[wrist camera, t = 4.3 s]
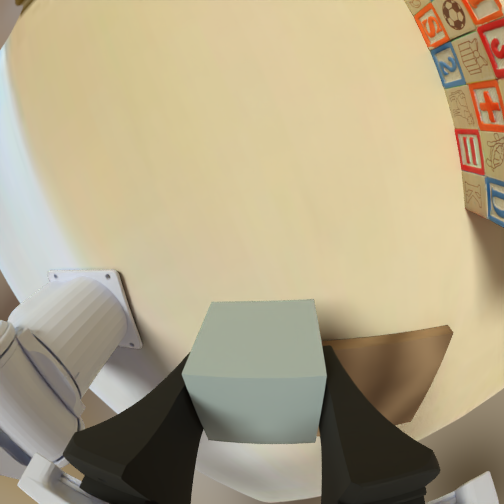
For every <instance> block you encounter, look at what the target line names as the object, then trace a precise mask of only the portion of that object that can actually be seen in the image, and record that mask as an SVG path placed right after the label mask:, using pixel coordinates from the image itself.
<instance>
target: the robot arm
mask: <svg viewBox="0 0 504 504" xmlns="http://www.w3.org/2000/svg"><path fill="white" fill-rule="evenodd" d="M108 275H110V277H109V276H108ZM47 276H48V279H49V282H48V283H47V284H46V285H44V286H43V287H42V288H40V289H39V290H38V291H36V292H35V293H34V294H33V295H31V296H30V297H29V298H27V299H26V300H25V301H24V302H22V303H21V304H20V305H19V306H18V307H16V308H15V310H13V312H12V313H11V315H10V317H9V319H8V322H5V321H2V320H0V475H3V476H7V477H11V478H15V479H19V480H20V481H19V482H18V484H17V485H18V487H19V488H21V489H22V490H23V491H24V492H25V493H27V494H28V495H29V496H30V497H32V498H33V499H34V500H35V501H36V502H38V503H39V504H190V503H191V492H192V484H193V476H194V470H195V463H196V458H197V452H198V447H199V442H200V438H201V435H202V432H203V429H204V428H203V426H202V424H201V422H200V419H199V417H198V415H197V412H196V410H195V407H194V405H193V402H192V400H191V397H190V395H189V392H188V390H187V387H186V385H185V382H184V379H183V377H182V372H183V369H184V367H185V364H186V362H187V359H188V357H189V355H190V353H189V354H188V355H187V356H186V357H185V358H184V359H183V361H182V362H181V363H180V364H179V365H178V366H177V367H176V368H175V369H174V370H173V371H172V372H171V373H170V374H169V375H168V376H167V377H166V378H165V379H164V380H163V381H162V382H161V383H160V384H159V385H158V386H157V387H156V388H154V389H153V390H152V391H151V392H150V393H149V394H147V395H146V396H145V397H144V398H142V399H141V400H140V401H138V402H137V403H136V404H134V405H133V406H131V407H129V408H128V409H126V410H125V411H123V412H121V413H120V414H118V415H116V416H114V417H112V418H110V419H108V420H107V421H104V422H102V423H100V424H97V425H95V426H92V427H90V428H87V429H85V426H84V423H83V420H82V419H81V417H80V416H81V414H82V413H83V411H84V409H85V406H84V405H83V403H82V402H81V398H82V396H83V395H84V393H85V392H86V391H87V389H88V388H89V386H90V385H91V383H92V382H93V380H94V379H95V377H96V376H97V374H98V373H99V372H100V370H101V369H102V367H103V366H104V364H105V363H106V362H107V360H108V359H109V357H110V356H111V355H112V353H113V352H114V350H115V349H116V348H117V346H121V347H127V348H135V349H140V348H141V347H142V345H143V344H142V341H141V339H140V336H139V333H138V331H137V328H136V325H135V322H134V319H133V317H132V314H131V311H130V308H129V305H128V302H127V299H126V295H125V292H124V289H123V286H122V282H121V279H120V275H119V273H118V272H117V271H116V270H50V271H48V272H47ZM322 348H323V354H324V361H325V367H326V374H327V378H326V385H325V391H324V398H323V404H322V409H321V415H320V421H319V432H320V438H321V450H322V496H321V504H499V502H498V498H497V494H496V490H495V487H494V484H493V480H492V477H491V474H490V472H489V471H487V472H485V473H483V474H481V475H480V476H478V477H476V478H474V479H472V480H470V481H468V482H467V483H465V484H463V485H462V486H460V487H459V488H458V489H456V491H454V492H452V493H449V494H447V495H445V496H442V497H440V498H437V499H435V500H432V501H430V502H427V503H425V501H424V495H426V488H425V486H426V485H427V484H428V483H430V482H431V481H432V480H433V479H435V478H436V476H437V475H438V474H439V473H440V467H439V464H438V461H437V459H436V456H435V454H434V452H433V450H431V449H429V448H427V447H426V446H424V445H422V444H420V443H419V442H417V441H416V440H414V439H412V438H411V437H410V436H408V435H407V434H405V433H404V432H402V431H401V430H400V429H399V428H397V427H396V426H395V425H394V424H392V423H391V422H390V421H389V420H388V419H386V418H385V417H384V416H383V415H382V414H381V413H380V412H379V411H378V410H377V409H376V408H375V407H374V406H373V405H372V404H371V403H370V402H369V400H368V399H367V398H366V397H365V396H364V395H363V393H362V392H361V391H360V390H359V388H358V387H357V386H356V384H355V383H354V382H353V380H352V379H351V377H350V376H349V375H348V373H347V372H346V370H345V369H344V367H343V366H342V364H341V362H340V361H339V359H338V357H337V355H336V354H335V352H334V350H333V348H332V346H330V345H327V346H322ZM69 463H70V464H72V465H73V466H74V467H75V468H76V469H78V470H79V471H80V472H81V473H83V474H84V475H85V477H84V478H83V480H82V481H80V480H78V479H76V478H74V477H72V476H71V475H69V474H67V473H65V472H64V471H62V469H60V468H62V467H64V466H66V465H67V464H69Z"/></svg>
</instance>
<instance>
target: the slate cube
mask: <svg viewBox="0 0 504 504" xmlns="http://www.w3.org/2000/svg"><path fill="white" fill-rule="evenodd" d="M182 377H183V379H184V382H185V385H186V387H187V390H188V392H189V395H190V397H191V400H192V402H193V405H194V407H195V410H196V412H197V415H198V417H199V419H200V422H201V424H202V426H203V428H204V431H205V433H206V435H207V437H208V440H213V441H223V442H236V443H254V444H297V443H315V441H316V436H317V431H318V426H319V421H320V415H321V409H322V404H323V398H324V391H325V385H326V378H327V374H326V367H325V361H324V354H323V348H322V342H321V336H320V330H319V324H318V319H317V313H316V308H315V303H314V299H307V300H283V301H246V302H211V305H210V307H209V309H208V312H207V314H206V316H205V319H204V321H203V324H202V326H201V328H200V331H199V333H198V335H197V338H196V340H195V343H194V345H193V347H192V350H191V352H190V355H189V357H188V359H187V362H186V364H185V367H184V369H183V372H182Z"/></svg>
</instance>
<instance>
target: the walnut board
mask: <svg viewBox="0 0 504 504" xmlns="http://www.w3.org/2000/svg"><path fill="white" fill-rule="evenodd" d="M452 335H453V331H452V330H451V329H450V327H449V326H448V325H445V326H440V327H435V328H429V329H423V330H417V331H411V332H404V333H397V334H389V335H381V336H373V337H364V338H353V339H342V340H329V341H321V342H322V346H327V345H330V346H332V348H333V350H334V352H335V354H336V355H337V357H338V359H339V361H340V362H341V364H342V366H343V367H344V369H345V370H346V372H347V373H348V375H349V376H350V377H351V379H352V380H353V382H354V383H355V384H356V386H357V387H358V388H359V390H360V391H361V392H362V393H363V395H364V396H365V397H366V398H367V399H368V400H369V402H370V403H371V404H372V405H373V406H374V407H375V408H376V409H377V410H378V411H379V412H380V413H381V414H382V415H383V416H384V417H385V418H386V419H388V420H389V421H390V422H391V423H392V424H394V425H398V424H402V423H406V422H410V421H411V420H412V418H413V417H414V415H415V413H416V412H417V410H418V408H419V406H420V405H421V403H422V401H423V399H424V397H425V395H426V393H427V391H428V390H429V388H430V386H431V384H432V382H433V379H434V377H435V375H436V373H437V371H438V369H439V367H440V364H441V362H442V360H443V357H444V355H445V353H446V350H447V348H448V345H449V343H450V340H451V338H452ZM317 436H320V432H319V426H318V431H317Z"/></svg>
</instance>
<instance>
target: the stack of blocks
mask: <svg viewBox="0 0 504 504" xmlns="http://www.w3.org/2000/svg"><path fill="white" fill-rule="evenodd" d="M405 2H406V4H407V6H408V7H409V9H410V11H411V13H412V14H413V15H414V18H415V20H416V23H417V25H418V27H419V29H420V31H421V33H422V35H423V37H424V40H425V42H426V44H427V47H428V49H429V50H430V51H431V54H432V57H433V59H434V62H435V64H436V67H437V70H438V72H439V76H440V78H441V81H442V85H443V87H444V89H445V93H446V97H447V100H448V103H449V107H450V111H451V114H452V119H453V123H454V126H455V135H456V140H457V145H458V150H459V156H460V163H461V169H462V179H463V189H464V201H465V208H466V209H467V210H469V211H471V212H474V213H476V214H478V215H480V216H482V217H484V218H486V219H489V220H491V221H492V222H494V223H496V224H498V225H500V226H501V227H503V228H504V0H405Z"/></svg>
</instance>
